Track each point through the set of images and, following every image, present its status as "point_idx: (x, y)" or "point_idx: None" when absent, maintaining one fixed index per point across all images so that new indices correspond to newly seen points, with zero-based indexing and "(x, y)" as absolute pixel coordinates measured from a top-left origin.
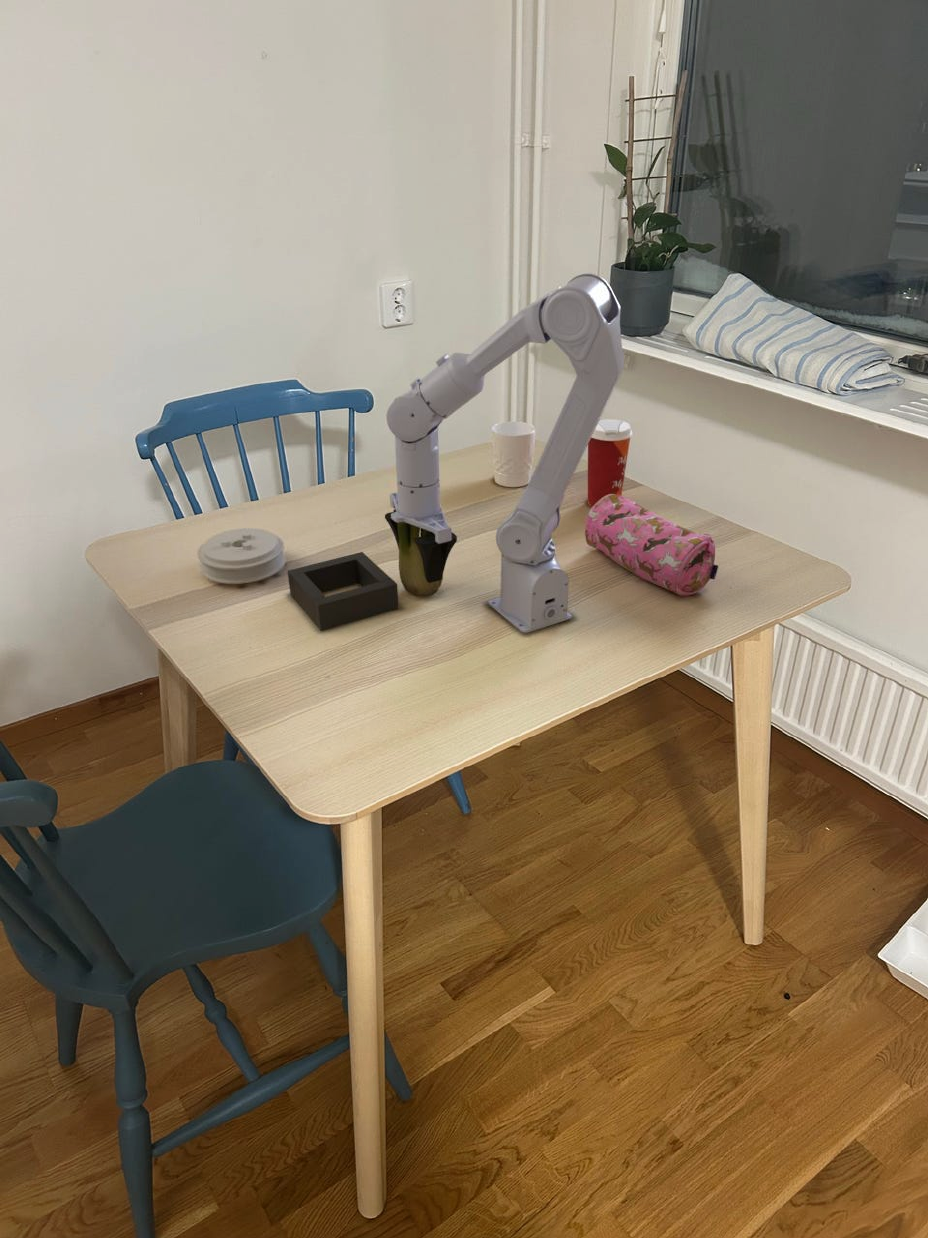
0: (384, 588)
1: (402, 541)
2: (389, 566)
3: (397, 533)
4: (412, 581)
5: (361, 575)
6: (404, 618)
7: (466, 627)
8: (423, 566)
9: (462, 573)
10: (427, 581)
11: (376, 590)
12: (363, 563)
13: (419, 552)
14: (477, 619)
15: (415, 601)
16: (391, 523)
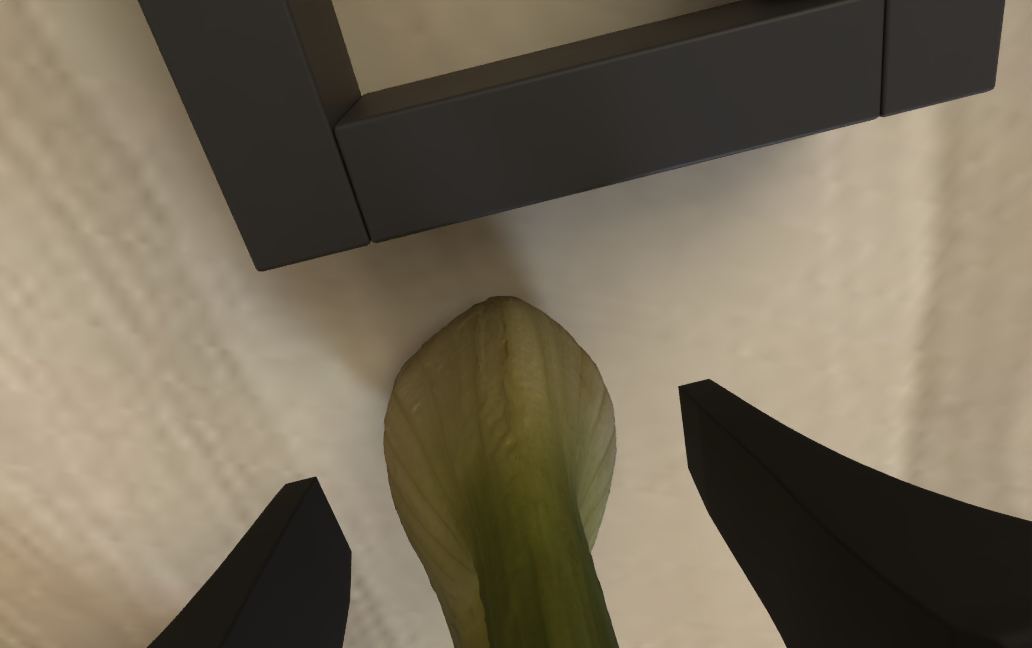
0: (205, 143)
1: (500, 584)
2: (874, 260)
3: (820, 531)
4: (420, 376)
5: (722, 14)
6: (174, 214)
7: (36, 508)
8: (264, 562)
9: (615, 576)
10: (302, 481)
11: (166, 53)
12: (764, 45)
13: (445, 601)
14: (124, 563)
15: (387, 320)
16: (926, 609)
